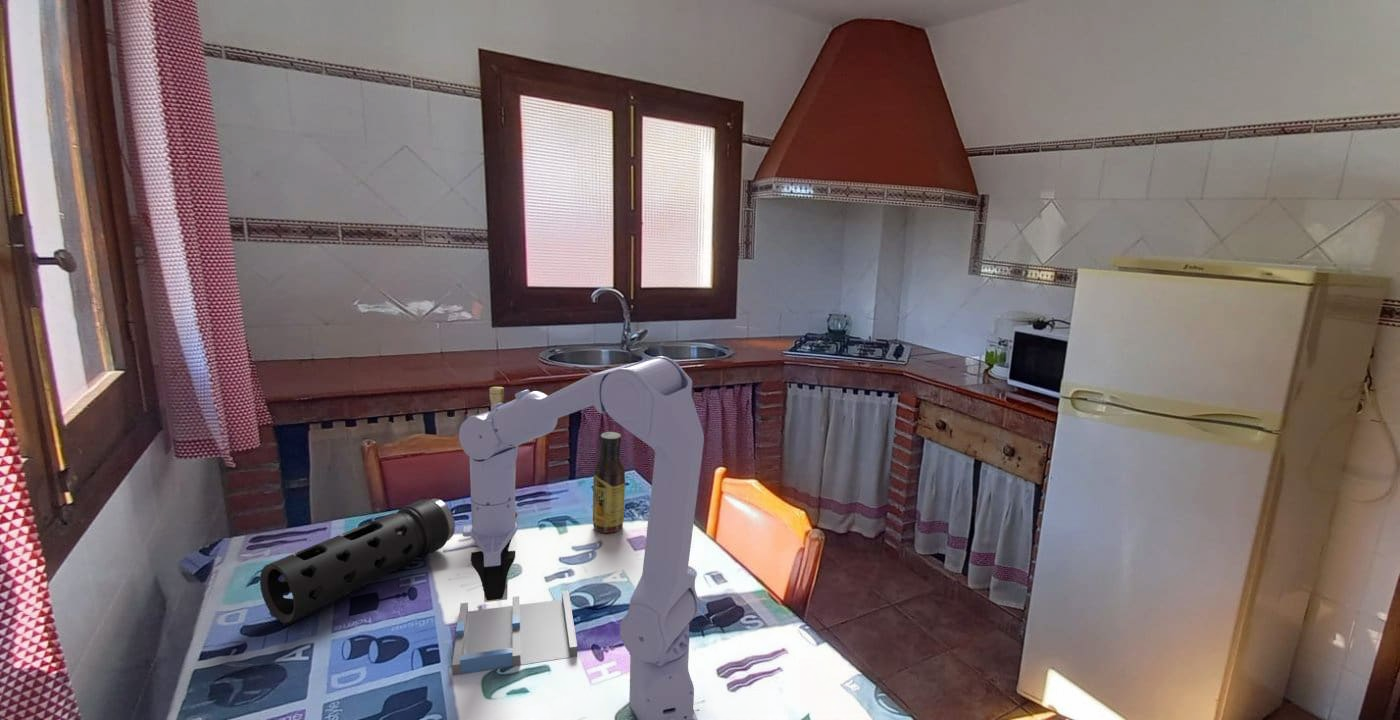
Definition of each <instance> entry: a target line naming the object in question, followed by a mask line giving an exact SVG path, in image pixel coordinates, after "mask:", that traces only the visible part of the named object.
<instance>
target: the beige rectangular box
mask: <svg viewBox="0 0 1400 720" xmlns="http://www.w3.org/2000/svg"><path fill="white" fill-rule="evenodd" d="M508 576H509V575H507V579H506V585H505V591H504V595H503V598H502V599H496V600H487V599H486V597H485V594H484V593H483V599H484V601H483V602H484V603H488V602H489V603H490V602H498V601H506V600H508V593H509V592H508V591H509V590H508V584H509V583H508V582H509V580H508V579H509V577H508Z"/></svg>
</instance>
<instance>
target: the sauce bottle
mask: <svg viewBox="0 0 1400 720" xmlns="http://www.w3.org/2000/svg"><path fill="white" fill-rule="evenodd" d="M599 437H600V439H599V442H600V453H599V454H600V456H599V457H598V460H597V463H596V465H595V468H594V471H593V487H592V522H593V523H592V524H593V528H594V530H595V531H597V532H598V533H600V534H612V533H616V532H618V531H620V530H621V529H623V525H624V518H625V517H624V516H625V514H624V513H625V497H626V495H625V491H626V479H625V477H626V475H625V474H626V473H625V472H626V466H625V464H624V462H623V460H622V458H621V457H620V456H621V442H622V434H621V433H619V432H614V431H606V432H602V433H601V435H600V436H599Z"/></svg>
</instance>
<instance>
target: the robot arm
mask: <svg viewBox="0 0 1400 720" xmlns="http://www.w3.org/2000/svg"><path fill="white" fill-rule="evenodd" d="M692 389H693V379H692V378H691V377H690V376H689V375H688V374H687V372H685V370H684V369H683V368H682V367H681V366H680V364H679V363H678V362H677V361H675V360H674V359H671V358H670V357H668V356H662V355H661V356H659V355H658V356H654V357H651V358H650V359H648V360H646V361H638V362H632V363H629V364H623V365H621V366H617V367H612V368H608V369H606V370H602V371H599V372H596V373H592V374H590V375H587V376H586V377H583V378H582V379H580V380H578V381H575V382H574V383H571V384H570V385H567V386H565V387H562V388H561V389H559V390H557V391H554V392H552V393H551V394H549V395H547V394H546V393H544V392H542V391H538V390H534V391H530V390H529V389H524V390H522V391H518V392H517V393H515V394H514V397H515V399H512V400H511V401H508V402H506V403H503V404H502V403H498V404H495V405H493V406H491V405H490V411H487V412H484V413H481V414H478V415H477V414H476V415H471V416H469V417H467V419H465V420H464V421H463V422H462V423H461V424H460V427H459V430H458V439H459V443H460V446H461V449H462V450H463V451H464V453H465V454H466V455H467V456H468V457H469V478H470V508H471V524H469V525H464V526H463V528H462V536H463V537H465V538H467V537H469V538H470V537H471V538H472V539H473V541H474V543H476V545H477V546H478V548H479V549H480V550H479V551H472V552H470V553H471V554H470V564H471V566H472V568H474V570H475V571H476V573H477V574H478V577H479V579H480V581H481V585H482V590H483V595H484V594H485V597H486V599H487V600H496V599H502V598H503V595H504V591H505V585H506V579H507V575H508V574H509V572H510V569H511V567H512V565H513V564H514V561H515V559H516V550H509V548H510V545H511V541H512V540H513V538H514V536H515V534H516V533H517V531H518V524H517V521H516V518H515V511H516V475H515V461H514V460H515V459H516V460H517V457H518V448H519V446H521V445H524V444H526V443H528V442H531V441H533V440H536V439H538V438H541V437H544V436H546V435H549V434H550V433H552V432H553V431H554V430H555V429H556V427H557V424H558V420H559V419H560V418H562V417H566V416H568V415H571V414H574V413H576V412H579V411H581V410H584V409H587V408H589V407H594V408H595V410H596V411H597V412H598V413H599V414H604V413H607V414H608V416H609V417H610V418H611V419H612V420H613V421H615V422H616V423H617V424H619V425H620V426H621V427H622V428H624V429H626V430H627V431H628V432H629V433H631V434H632V435H634V436H635V437H637V438H638V439H639V440H641V441H642V442H643V443H645V444H646V445H648V446H649V447H650V448H651V449H652V450H653V451H654V462H653V470H652V471H653V472H652V480H651V490H650V498H649V499H650V500H649V507H648V508H649V509H648V518H647V528H646V537H645V545H644V546H645V547H644V555H643V564H642V565H643V566H642V574H641V576H640V579H639V581H638V583H637V585H636V587H635V588H634V590H633V593H632V595H631V597H630V599H629V607H628V611H627V613H626V614H625V616H623V618H622V620H621V621H620V625H619V636H620V639H621V642H622V644H623V646H624V647H625V649H626V650H627V652H628V654H629V655H630V656H629V657H630V658H629V659H630V663H629V699H628V700H629V706H630V709H631V710H632V712H633V714H635V716H636V718H637V719H635V720H698V718H697V716H696V713H695V711H694V704H695V703H694V699H695V688H694V683H693V680H692V678H691V675H690V671H689V656H690V655H689V653H690V622H692V621H693V620H694V619H695V618H696V616H697V615H698V612H699V608H700V602H699V597H698V594H697V592H696V587H695V586H696V575H695V574H694V573H693V572H691V571H690V570H689V561H690V553H691V547H692V546H691V545H692V537H693V529H694V524H695V523H694V522H695V513H696V507H697V506H696V505H697V498H698V491H699V484H700V483H699V482H700V475H701V469H702V468H701V467H702V460H703V459H702V458H703V452H704V443H705V442H704V441H705V438H704V437H705V435H704V431H703V428H702V424H701V420H700V417H699V415H698V412H697V408H696V405H695V402H694V399H693V396H692V391H693V390H692ZM508 576H509V575H508Z"/></svg>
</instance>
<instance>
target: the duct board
mask: <svg viewBox="0 0 1400 720" xmlns="http://www.w3.org/2000/svg"><path fill="white" fill-rule="evenodd" d="M569 591H570V590H569V589H566V590H561V599H553V600H547V601H546V600H545V601H540V602H531V603H524V604H520V596H519V595H518V596H512V605H507V606H498V607H492V608H485V609H484V608H483V609H476V610H469V605H468V604H469V602H463V603H460V607H459V611H458V612H459V613H458V619H457V622H456V629H455V643H454V649H453V650H454V651H453V658H452V664H451V671H452V673H451V674H452V676H453V677H455V676H459V675H460V676H462V675H466V674H473V673H480V672H486V671H492V670H500V669H504V668H511V667H519V666H524V665H525V666H526V665H532V664H536V663H537V664H538V663H544V662H550V661H556V660H557V661H558V660H563V659H569V658H574V657H578V641H577V637H576V629H575V624H574V618H573V609H572V603H571V597H570V592H569Z"/></svg>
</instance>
